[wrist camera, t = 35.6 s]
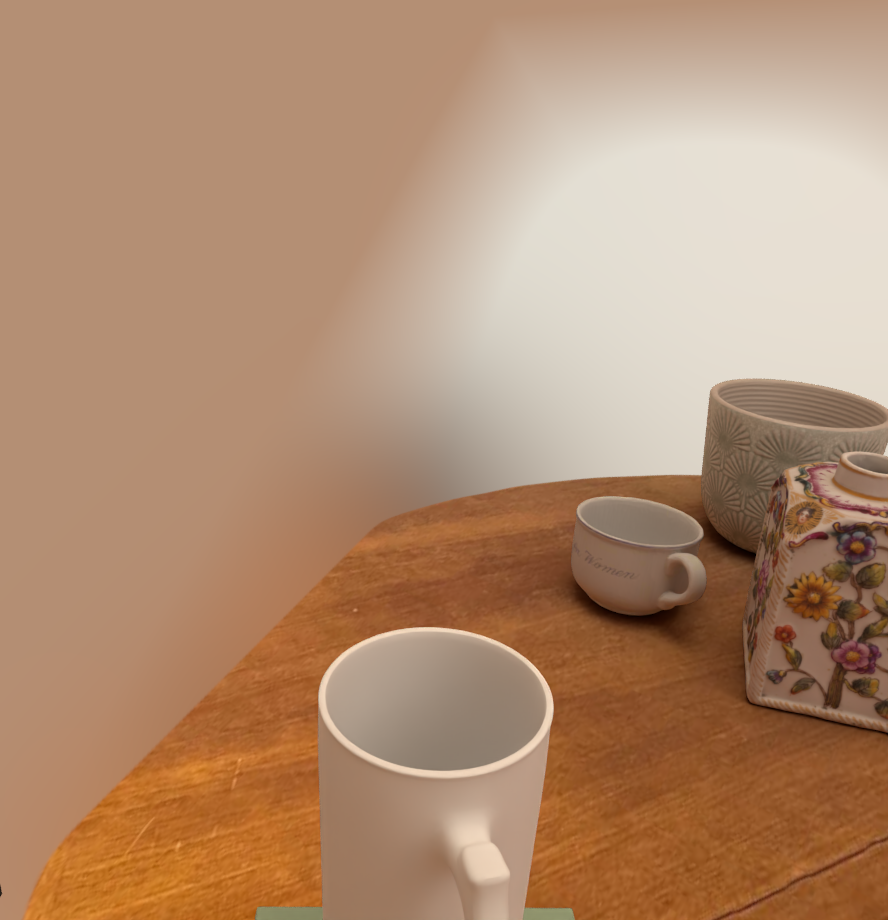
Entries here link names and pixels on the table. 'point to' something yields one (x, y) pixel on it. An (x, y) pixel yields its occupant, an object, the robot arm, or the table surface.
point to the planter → (775, 444)
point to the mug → (430, 777)
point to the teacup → (637, 555)
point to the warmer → (313, 916)
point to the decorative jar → (822, 594)
